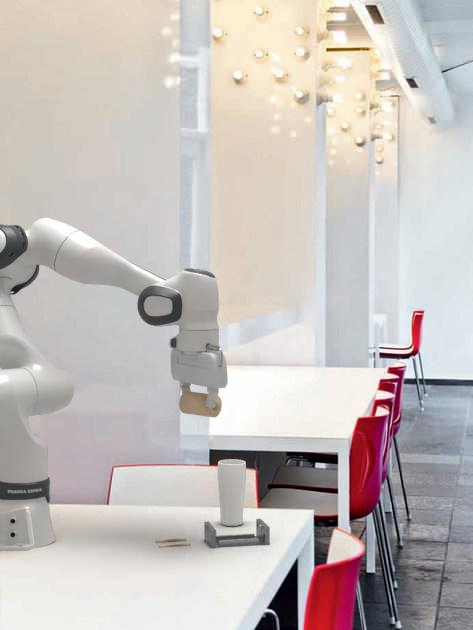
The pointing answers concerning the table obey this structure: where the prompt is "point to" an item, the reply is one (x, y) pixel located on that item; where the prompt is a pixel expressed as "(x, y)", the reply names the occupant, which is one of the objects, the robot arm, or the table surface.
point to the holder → (237, 537)
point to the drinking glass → (231, 491)
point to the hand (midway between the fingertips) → (198, 404)
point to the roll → (198, 404)
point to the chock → (172, 541)
